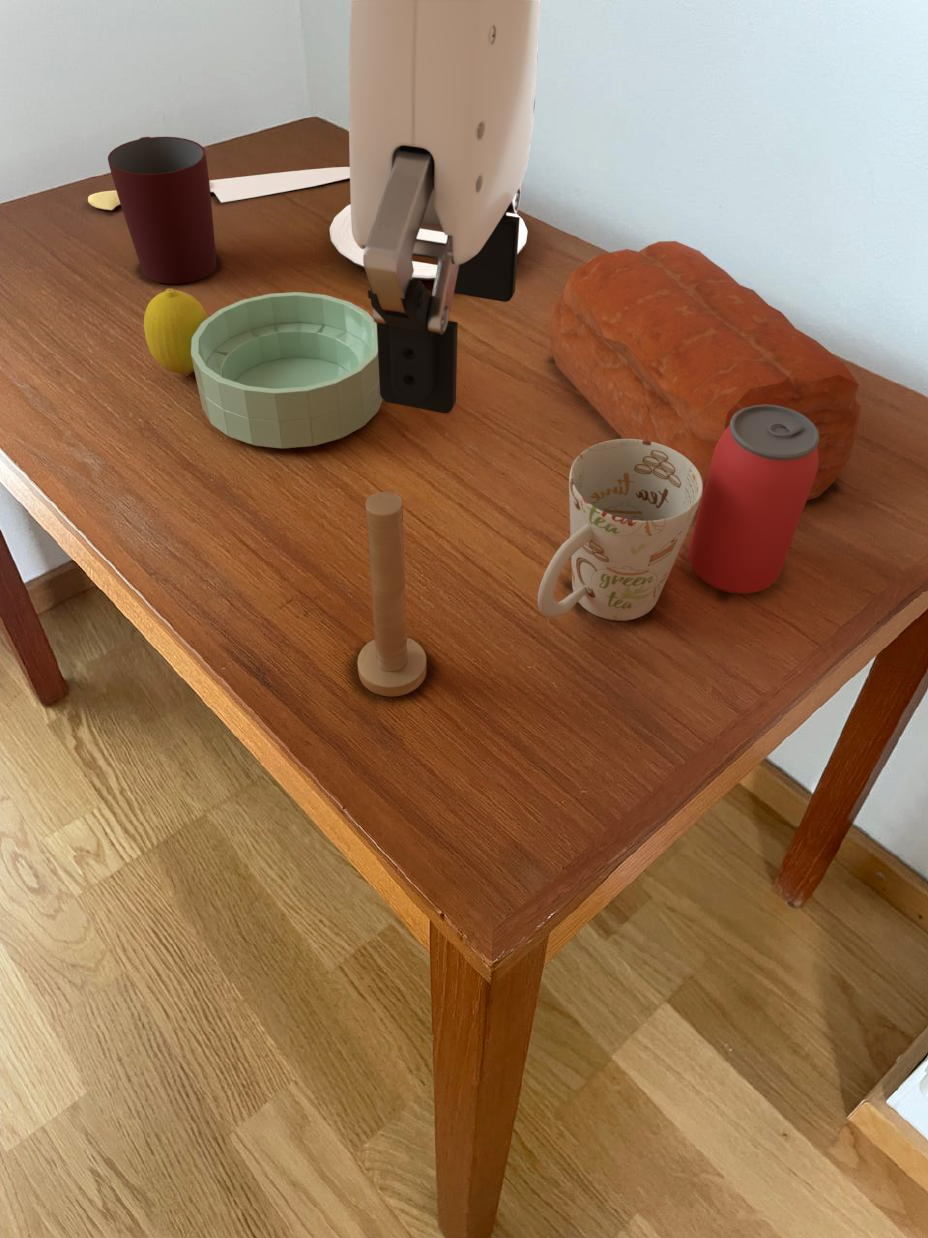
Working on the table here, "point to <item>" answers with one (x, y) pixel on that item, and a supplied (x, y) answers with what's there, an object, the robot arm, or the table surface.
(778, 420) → the beer can
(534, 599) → the table surface
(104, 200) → the knife
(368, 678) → the wooden peg with base
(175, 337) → the lemon
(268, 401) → the bowl
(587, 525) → the mug
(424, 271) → the plate
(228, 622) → the table surface
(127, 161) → the mug
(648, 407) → the bread
